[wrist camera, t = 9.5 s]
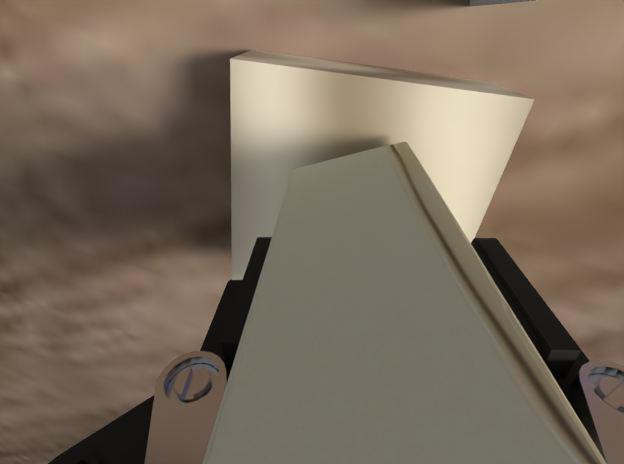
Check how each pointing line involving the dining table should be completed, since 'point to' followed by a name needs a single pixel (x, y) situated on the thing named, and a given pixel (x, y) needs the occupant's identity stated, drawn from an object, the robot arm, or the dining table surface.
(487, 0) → the grey cube
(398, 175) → the skincare box
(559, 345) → the robot arm
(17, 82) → the dining table surface
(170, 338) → the dining table surface
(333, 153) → the pedestal
